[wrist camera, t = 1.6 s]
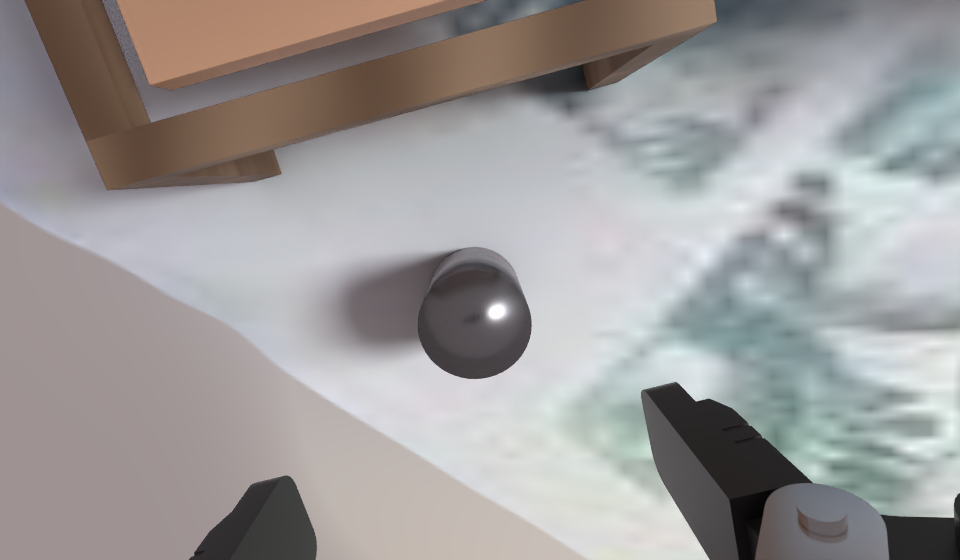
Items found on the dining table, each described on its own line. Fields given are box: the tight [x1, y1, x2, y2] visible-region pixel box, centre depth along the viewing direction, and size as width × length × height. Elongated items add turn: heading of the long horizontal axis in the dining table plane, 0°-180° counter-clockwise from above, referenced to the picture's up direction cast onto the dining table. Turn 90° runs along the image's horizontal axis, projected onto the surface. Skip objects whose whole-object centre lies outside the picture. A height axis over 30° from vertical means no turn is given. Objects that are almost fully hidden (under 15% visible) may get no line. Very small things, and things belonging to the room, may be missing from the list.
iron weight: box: [418, 247, 532, 379], centre depth 23 cm, size 5×5×6 cm
